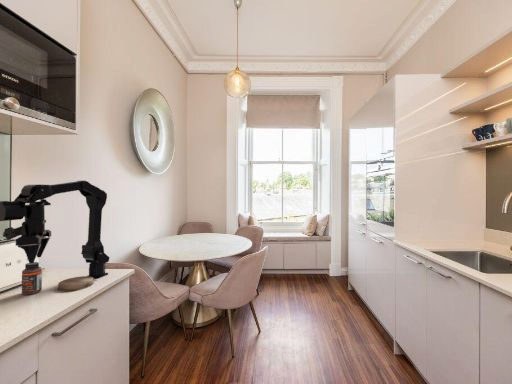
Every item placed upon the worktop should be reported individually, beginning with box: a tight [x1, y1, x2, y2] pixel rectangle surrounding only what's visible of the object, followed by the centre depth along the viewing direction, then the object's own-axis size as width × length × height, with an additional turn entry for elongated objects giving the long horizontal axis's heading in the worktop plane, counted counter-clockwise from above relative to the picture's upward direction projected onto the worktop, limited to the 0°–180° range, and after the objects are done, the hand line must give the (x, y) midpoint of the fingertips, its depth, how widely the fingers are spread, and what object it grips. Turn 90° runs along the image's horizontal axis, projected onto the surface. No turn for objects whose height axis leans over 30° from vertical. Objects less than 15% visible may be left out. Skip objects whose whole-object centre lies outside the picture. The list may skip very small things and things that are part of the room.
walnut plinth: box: [57, 275, 94, 292], centre depth 109 cm, size 12×12×2 cm
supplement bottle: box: [21, 261, 43, 296], centre depth 102 cm, size 6×6×11 cm
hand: (35, 260), depth 98 cm, fingers open, 9 cm apart
